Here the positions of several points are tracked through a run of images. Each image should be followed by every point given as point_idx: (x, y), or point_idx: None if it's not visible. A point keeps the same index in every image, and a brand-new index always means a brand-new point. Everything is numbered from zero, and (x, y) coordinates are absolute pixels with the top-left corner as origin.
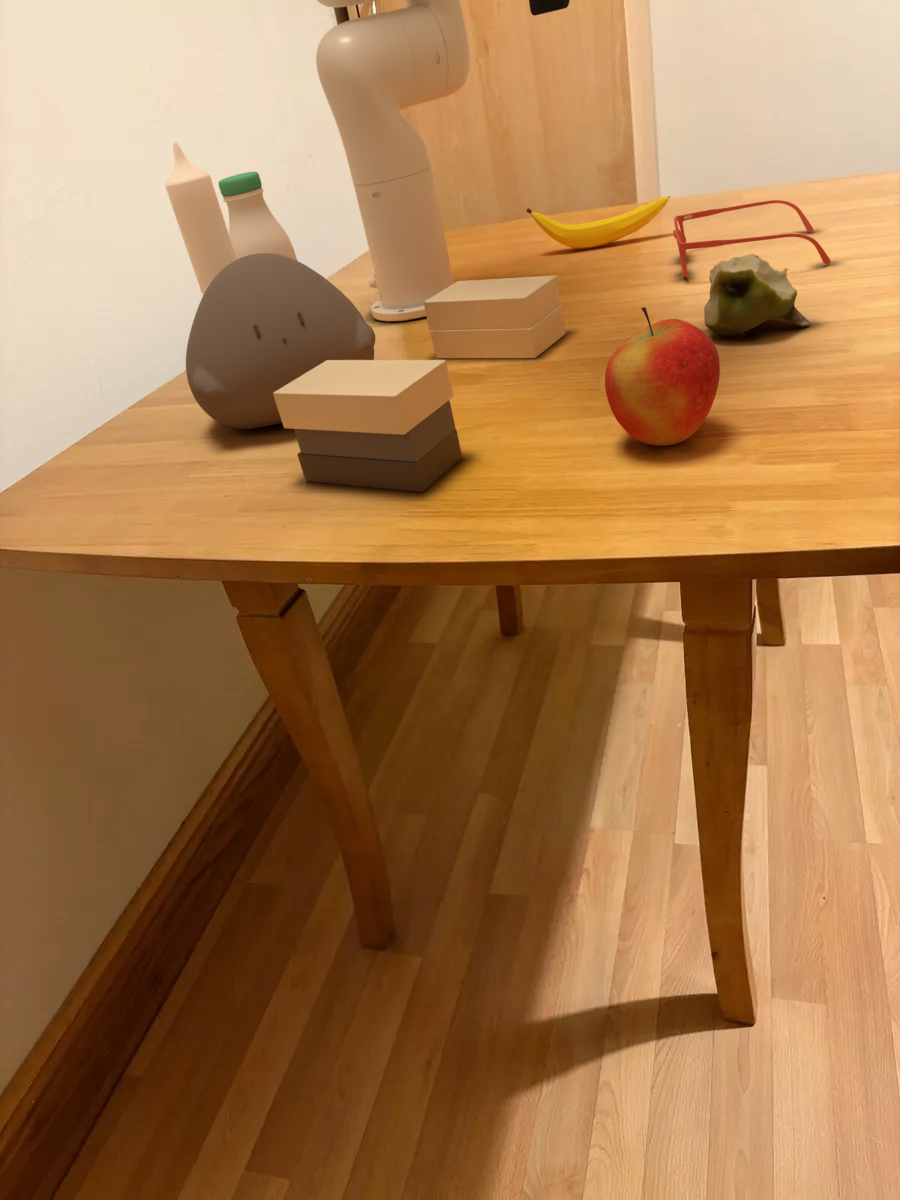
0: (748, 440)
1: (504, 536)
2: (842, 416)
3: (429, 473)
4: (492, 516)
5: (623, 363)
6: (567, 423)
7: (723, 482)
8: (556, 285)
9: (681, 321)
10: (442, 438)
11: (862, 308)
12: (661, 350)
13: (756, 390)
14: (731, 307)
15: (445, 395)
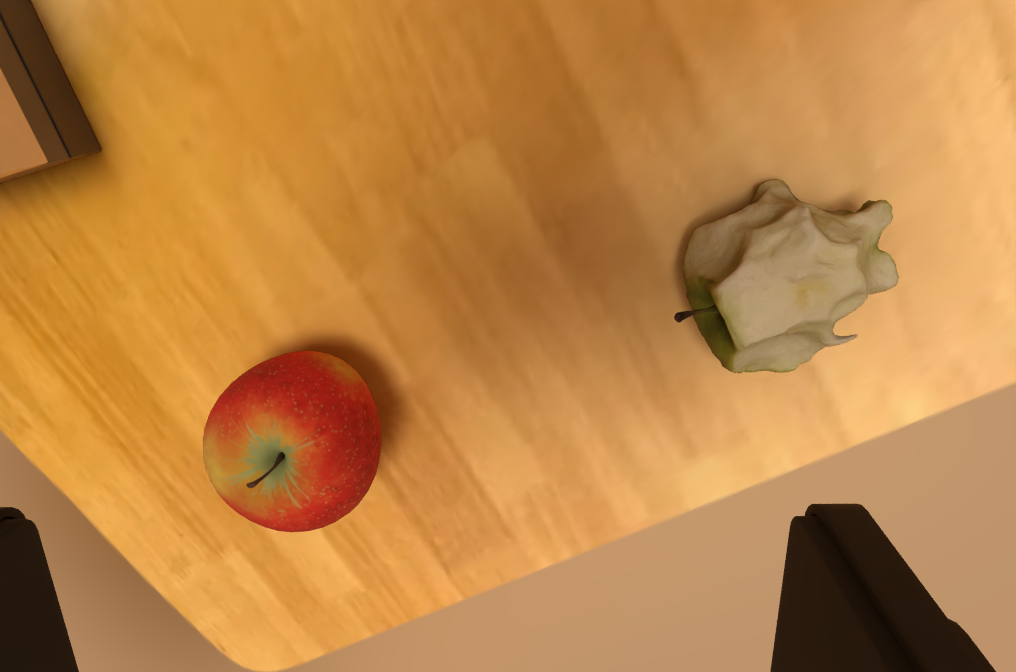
0: None
1: (13, 383)
2: (476, 545)
3: (4, 181)
4: (30, 334)
5: (206, 455)
6: (291, 223)
7: None
8: None
9: (321, 491)
10: (29, 171)
11: (890, 391)
12: (236, 509)
13: (514, 416)
14: (696, 300)
15: (18, 171)
